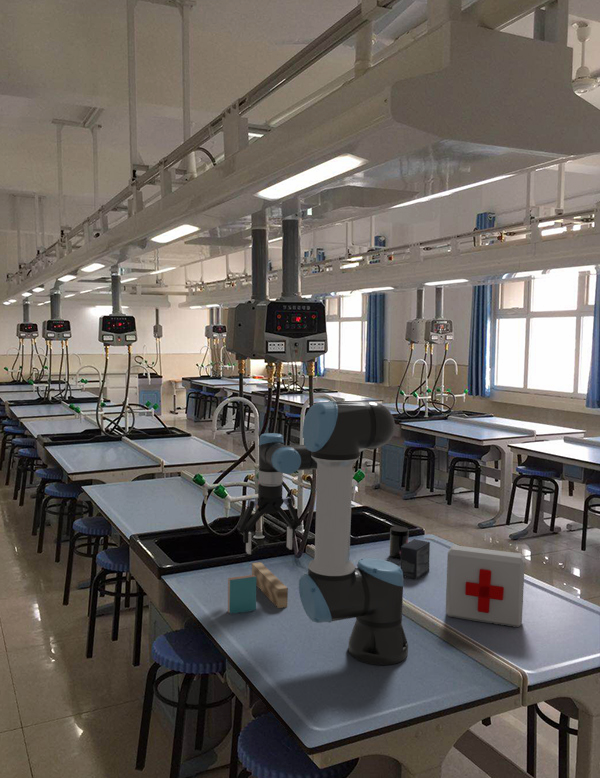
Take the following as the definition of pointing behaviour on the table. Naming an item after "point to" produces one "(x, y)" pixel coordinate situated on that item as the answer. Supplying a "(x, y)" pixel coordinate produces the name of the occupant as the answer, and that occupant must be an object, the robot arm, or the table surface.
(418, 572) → the small box
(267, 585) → the push bar
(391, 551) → the supplement container
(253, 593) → the tile
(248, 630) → the table surface
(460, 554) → the bevelled white case
